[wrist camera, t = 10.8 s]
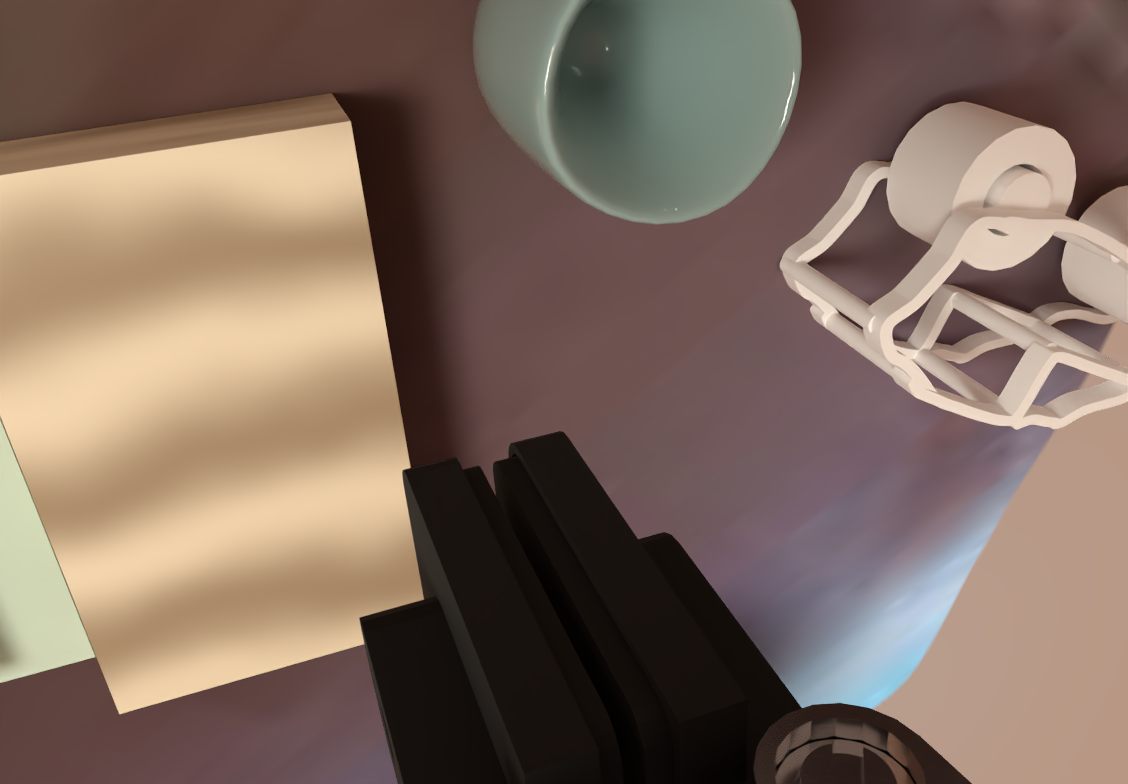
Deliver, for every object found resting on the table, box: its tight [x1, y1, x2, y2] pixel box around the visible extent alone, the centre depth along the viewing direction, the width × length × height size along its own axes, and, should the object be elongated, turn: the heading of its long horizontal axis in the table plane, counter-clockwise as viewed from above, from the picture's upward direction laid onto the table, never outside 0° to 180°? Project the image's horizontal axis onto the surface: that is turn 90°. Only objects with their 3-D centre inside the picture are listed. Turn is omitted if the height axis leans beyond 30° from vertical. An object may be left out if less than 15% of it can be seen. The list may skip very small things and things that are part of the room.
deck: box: [0, 93, 424, 714], centre depth 36 cm, size 20×12×4 cm, turn 4°
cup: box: [472, 0, 802, 224], centre depth 32 cm, size 8×8×10 cm
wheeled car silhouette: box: [780, 102, 1128, 429], centre depth 44 cm, size 20×11×7 cm, turn 66°
